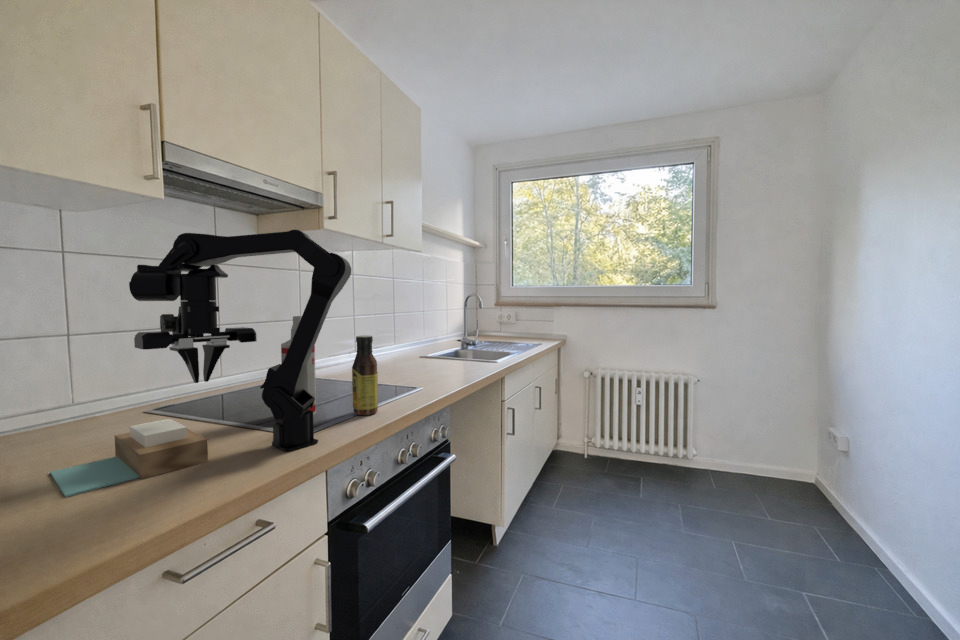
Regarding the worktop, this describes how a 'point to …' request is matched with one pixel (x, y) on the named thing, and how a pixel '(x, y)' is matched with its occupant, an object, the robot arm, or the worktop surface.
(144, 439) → the white block
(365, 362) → the sauce bottle
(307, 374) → the spray bottle
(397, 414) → the worktop surface
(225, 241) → the robot arm
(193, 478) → the worktop surface
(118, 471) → the mat
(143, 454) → the brown box
